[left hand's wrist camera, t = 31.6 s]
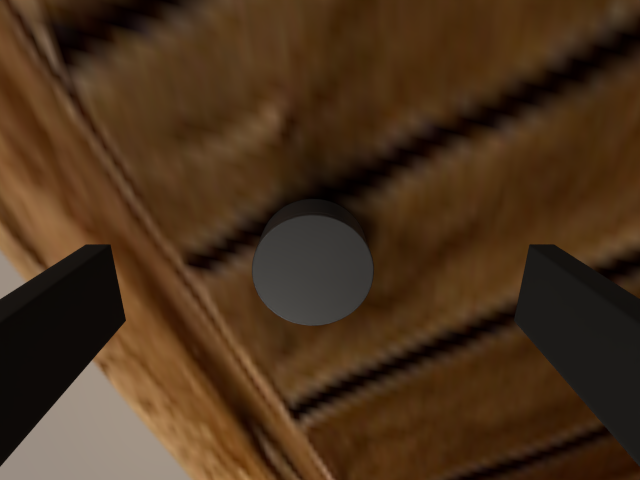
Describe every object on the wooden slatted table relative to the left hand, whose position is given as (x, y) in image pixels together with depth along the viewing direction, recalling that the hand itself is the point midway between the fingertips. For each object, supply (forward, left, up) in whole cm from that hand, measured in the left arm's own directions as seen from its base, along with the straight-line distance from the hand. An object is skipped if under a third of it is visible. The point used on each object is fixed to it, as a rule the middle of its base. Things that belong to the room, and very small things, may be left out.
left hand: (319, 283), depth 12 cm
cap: (0, 0, -2) cm, 2 cm away
